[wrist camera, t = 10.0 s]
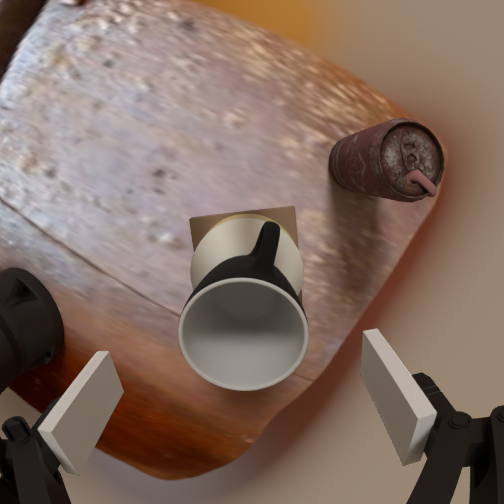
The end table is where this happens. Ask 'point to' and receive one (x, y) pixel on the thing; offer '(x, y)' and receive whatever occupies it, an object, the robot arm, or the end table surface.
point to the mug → (245, 321)
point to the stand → (245, 241)
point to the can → (389, 161)
